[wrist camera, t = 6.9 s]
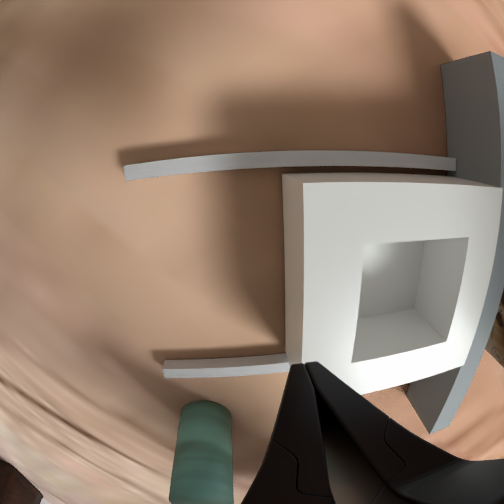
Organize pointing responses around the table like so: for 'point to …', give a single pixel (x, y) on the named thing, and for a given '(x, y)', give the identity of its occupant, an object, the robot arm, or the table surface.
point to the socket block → (385, 272)
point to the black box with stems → (16, 487)
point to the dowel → (203, 456)
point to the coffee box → (497, 335)
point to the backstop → (456, 163)
